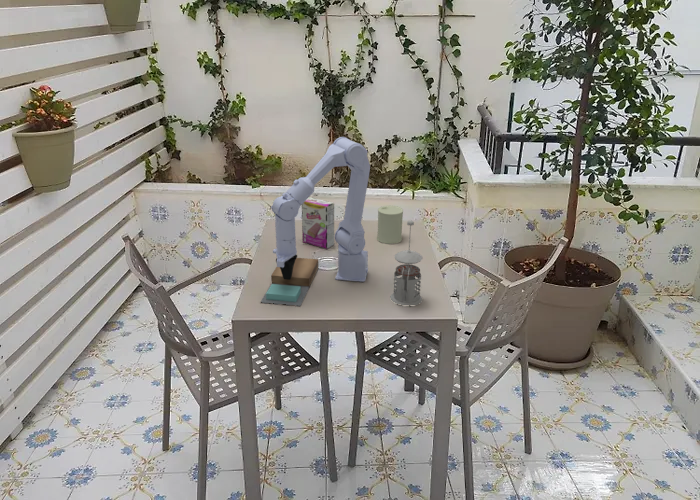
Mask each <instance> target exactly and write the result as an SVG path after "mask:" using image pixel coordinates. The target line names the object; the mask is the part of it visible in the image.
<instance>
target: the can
mask: <svg viewBox="0 0 700 500" xmlns="http://www.w3.org/2000/svg"><path fill="white" fill-rule="evenodd" d="M377 213H378V214H377V235H376V240H377V241H378V242H380V243H381V244H387V245H393V244H399V243H400V242H401V241H402V240H403V239H402V238H403V237H402V234H403V218H404V217H403V215H404V209H403V208H402V207H401V206H396V205H383V206H380V207H379V208H378V209H377Z"/></svg>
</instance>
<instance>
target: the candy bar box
mask: <svg viewBox="0 0 700 500" xmlns="http://www.w3.org/2000/svg"><path fill="white" fill-rule="evenodd" d="M301 222H302V223H301V227H302V228H301V229H302V230H301V231H302V234H301V235H302V243H305V244H309V245H312V246H314V247H315V246H316V247H319V248H322V249H330V248H331V247H333V246H334V245H335V203H334V202H332V201H327V200H322V199H320V198H315V197H311V196H309V197H308V198H307V200H306V201H305V202H304V203H303V204H302V205H301Z"/></svg>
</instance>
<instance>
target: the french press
mask: <svg viewBox="0 0 700 500" xmlns="http://www.w3.org/2000/svg"><path fill="white" fill-rule="evenodd" d="M414 223H415V222H414V221H413V220H411V219H410V220H408V221H407V222H406V225H407V226H409V233H411V227H413V226H414ZM410 244H411V235H409V237H408V249H406V250H405V249H404V250H401V251H399V252H397V253H395V254H394V259H395V261H397V263H400V264H399V265H398V266H396V267H395V271H394V275H393V277H394V278H393V293H391V295H390V298H391V300H392V301H393V302H395V303H397V304H401V305H417V304H419V303H421V304H422V302H423V301H422V299H423V296H421V286H422V285H421V284H422V281H421V280H422V274H421V269H420V268H419V267H418V266H417V265H415V264H418V263H420V262H422V260H423V259H424V258H423V255H421V254H420V253H419V252H417V251H415V250H410V249H411V247H410V246H411V245H410ZM413 264H414V265H413ZM391 300H390V301H391ZM392 301H391V302H392ZM421 301H422V302H421ZM393 302H392V303H393ZM419 305H420V304H419ZM417 306H418V305H417Z"/></svg>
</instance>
